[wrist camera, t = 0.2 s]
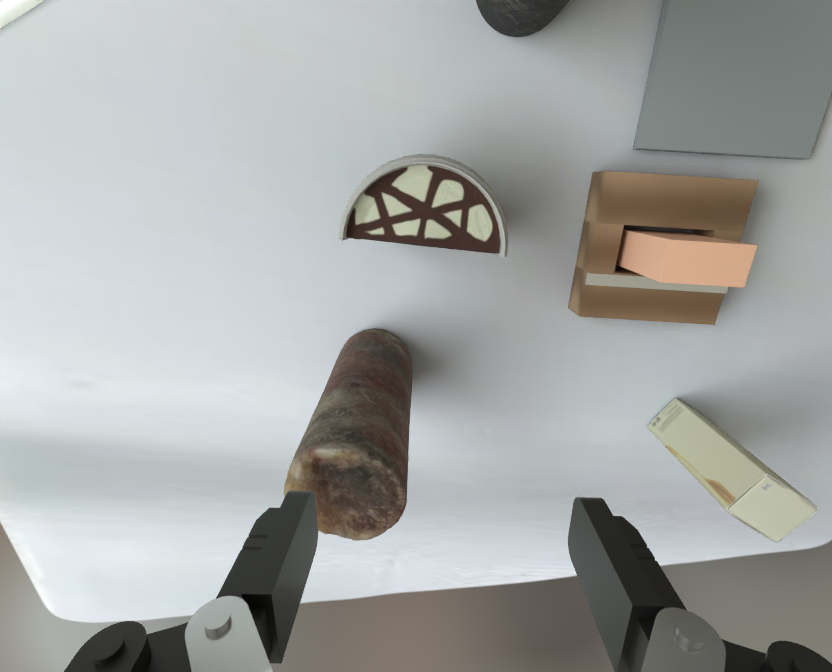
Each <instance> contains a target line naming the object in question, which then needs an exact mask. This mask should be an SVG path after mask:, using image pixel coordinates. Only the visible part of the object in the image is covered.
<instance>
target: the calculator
mask: <svg viewBox="0 0 832 672" xmlns="http://www.w3.org/2000/svg"><path fill="white" fill-rule="evenodd" d="M43 1H45V0H0V28H2V27H4V26H5V25H7V24H8V23H10V22H12V21H13V20H15V19H16V18H18V17H19V16H21V15H23V14H24V13H26V12H27V11H29V10H31V9H32V8H34V7H35V6H37V5H38V4H40V3H42V2H43Z"/></svg>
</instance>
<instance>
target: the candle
mask: <svg viewBox="0 0 832 672" xmlns="http://www.w3.org/2000/svg"><path fill="white" fill-rule="evenodd" d="M411 391H412V361H411V358H410V355H409V353H408V351H407V349H406V347H405V345H404V344H403V343H402V342H401V341H400V340H399V339H397V338H396V337H395V336H393V335H391V334H390V333H388V332H387V331H385V330H382V329H368V330H364V331H362V332H359V333H357V334H355V335H353V336H352V337H351V338H350V339H349V340H348V341H347V342H346V343H345V345H344V347H343V348H342V350H341V352H340V354H339V356H338V359H337V361H336V363H335V365H334V368H333V370H332V373H331V375H330V378H329V380H328V382H327V385H326V387H325V390H324V392H323V394H322V396H321V398H320V400H319V403H318V405H317V407H316V409H315V411H314V413H313V415H312V418H311V420H310V423H309V425H308V428H307V430H306V432H305V434H304V436H303V438H302V440H301V443H300V445H299V447H298V449H297V451H296V453H295V456H294V458H293V461H292V463H291V465H290V468H289V470H288V475H287V479H286V482H285V485H284V496H286V494H287V492H288V491H290V490H292V491H313V492H314V494H315V503H316V514H317V526H318V531H321V532H323V533H325V534H334V535H338V536H340V537H344V538H348V539H352V540H368V539H372V538H374V537H376V536H379V535H381V534H382V533H384V532H385V531H386V530H387V529H389V528H391V527H392V526H393V525H395V524H396V523H397V522H398V520H399V519H400V517H401V516H402V514H403V512H404V509H405V506H406V502H407V475H408V446H409V424H410V406H411Z"/></svg>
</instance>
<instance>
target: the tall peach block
mask: <svg viewBox="0 0 832 672" xmlns="http://www.w3.org/2000/svg"><path fill="white" fill-rule="evenodd" d="M757 246H758V245H754V244H748V243H742V242H736V241H730V240H724V239H719V238H713V237H707V236H701V235H695V234H689V233H683V232H666V231H650V230H634V229H623V233H622V237H621V242H620V247H619V251H618V256H617V261H616V265H618V266H621V267H623V268H626V269H628V270H631V271H633V272H636V273H638V274H641V275H643V276H646V277H648V278H651V279H653V280H656V281H658V282H663V283H679V284H695V285H711V286H727V287H743V288H744V287H745V283H746V280H747V277H748V274H749V271H750V268H751V265H752V261H753V258H754V255H755V252H756V249H757Z"/></svg>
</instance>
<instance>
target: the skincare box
mask: <svg viewBox="0 0 832 672" xmlns="http://www.w3.org/2000/svg"><path fill="white" fill-rule="evenodd" d="M647 428H648V429H649V430H650V431H651V432H652V433H653V434H654V435H655V436H656V437H657V438H658V439H659V440H660V441H661V443H662V444H663V445H664V446H665V447H666V448H667V449H668V450H669V451H670V452H671V453H672V454H673V455H674V456H675V457H676V458H677V459H678V460H679V461H680V462H681V464H682V465H683V466H684V467H685V468H686V469H687V470H688V471H689V472H690V473H691V474H692V475H693V476H694V477H695V478H696V479H697V480H698V481H699V482H700V483H701V485H702V486H703V487H704V488H705V489H706V490H707V491H708V492H709V493H710V494H711V495H712V496H713V497H714V498H715V499H716V500H717V502H718V503H719V504H720V505H721V506H722V507H723V508H724V509H725V510H726V511H727V512H728V513H729V514H731V515H732V516H733V517H735V518H736V519H738V520H739V521H741V522H742V523H744V524H745V525H747V526H748V527H750V528H752V529H753V530H755V531H757V532H758V533H760V534H762V535H763V536H765V537H767V538H769V539H770V540H772V541H774V542H776V543H778V542H779V541H780V540H782V539H783V538H784V537H785V536H787V535H788V534H789V533H791V532H792V531H793V530H795V529H796V528H797V527H798V526H800V525H801V524H802V523H804V522H805V521H806V520H807V519H809V518H810V517H811V516H812V515H814V514H815V513H816V512H818V510H819V509H818V507H817V506H816V505H814V504H813V503H812V502H811V501H809V500H808V499H807V498H806V497H805V496H803V495H802V494H801V493H800V492H798V491H797V490H796V489H795V488H793V487H792V486H791V485H790V484H788V483H787V482H786V481H785V480H783V479H782V478H781V477H780V476H778V475H777V474H776V473H775V472H773V471H772V470H771V469H770V468H768V467H767V466H766V465H765V464H763V463H762V462H761V461H760V460H759V459H757V458H756V457H755V456H754V455H752V454H751V453H750V452H749V451H747V450H746V449H745V448H744V447H742V446H741V445H740V444H739V443H737V442H736V441H735V440H734V439H732V438H731V437H730V436H729V435H728V434H726V433H725V432H724V431H723V430H721V429H720V428H719V427H718V426H716V425H715V424H714V423H712V422H711V421H710V420H708V419H707V418H706V417H704V416H703V415H701V414H700V413H698V412H697V411H695V410H694V409H692V408H691V407H689V406H688V405H686V404H685V403H683V402H682V401H680V400H678V399H677V398H675V399H674V400H673V401H672V402H671V403H670V404H669V405H668V406H666V407H665V408H664V409H663V410H662V411H661V412H660V413H659V414H658V415H657V416H656V418H655V419H654V420H653V421H652V422H651V423H650V424H649V425H648V426H647Z"/></svg>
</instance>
